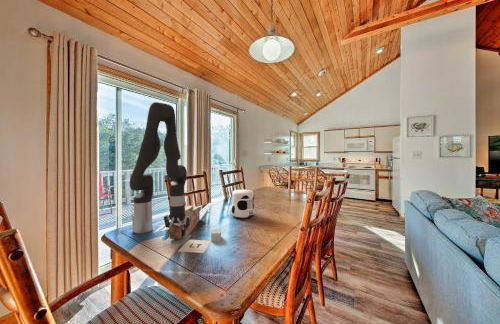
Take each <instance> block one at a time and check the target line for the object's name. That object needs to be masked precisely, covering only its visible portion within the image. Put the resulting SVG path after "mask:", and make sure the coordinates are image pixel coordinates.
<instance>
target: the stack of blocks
mask: <svg viewBox="0 0 500 324" xmlns="http://www.w3.org/2000/svg"><path fill="white" fill-rule="evenodd" d="M200 211H201V210H200V206H196V205H195V206H194V205H186V204H185V215H186V216H191V220H190V225H189V227H188V228H187V229H186V230H188V229H190V228H191V227H193V226H194V225H196V223H197V222H199V221H200V218H201V217H200V215H201V214H200ZM184 221H185V225H186V219H184Z"/></svg>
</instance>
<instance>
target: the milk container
mask: <svg viewBox="0 0 500 324" xmlns="http://www.w3.org/2000/svg"><path fill="white" fill-rule="evenodd" d="M231 196H232V197H231V198H232V199H231V201H232V204H231V208H230V212H231V213H230V214H231V215H232V216H233V217H235V218H237V219H250V218H252V217H253V216H254V215H255V212H256V207H255V193H254V190H251V189H235V190H233V191H232V195H231Z"/></svg>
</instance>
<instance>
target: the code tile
mask: <svg viewBox="0 0 500 324" xmlns="http://www.w3.org/2000/svg"><path fill="white" fill-rule="evenodd" d="M211 243H212V242H211V240H204V239H203V240H202V239H188V240H187V241H186V242H185V243H184V244H183V246H181V247H180V249H178V252H180V253H181V252H185V253H197V254H198V253H199V254H204V253H205V252H206V250H207V249H208V246H209V245H210V244H211Z"/></svg>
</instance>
